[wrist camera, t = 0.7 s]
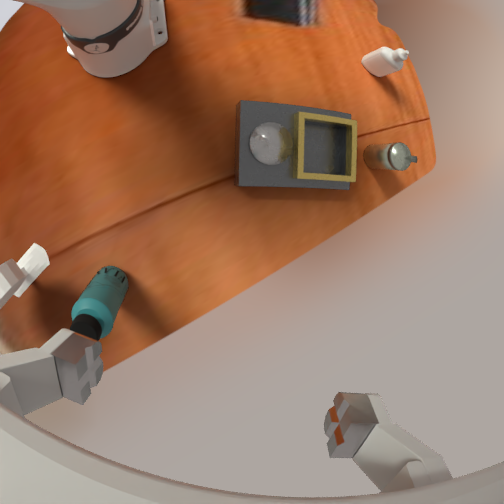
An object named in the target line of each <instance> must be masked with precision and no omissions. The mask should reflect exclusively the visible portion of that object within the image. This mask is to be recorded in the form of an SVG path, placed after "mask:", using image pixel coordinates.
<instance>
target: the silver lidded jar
mask: <svg viewBox="0 0 504 504" xmlns="http://www.w3.org/2000/svg"><path fill="white" fill-rule="evenodd" d="M363 157H364V161H365V163H366V165H367V166H368V167H369V168H372V169H388V170H400V171H403V170H406V169H407V168H408V167H409V165H410V163H411V162H415V163H417V156H411V153H410V150H409V148H408V147H407V146H406V145H405V144H403V143H389V144H374V145H369V146H367V147H366V148H365V150H364V154H363Z"/></svg>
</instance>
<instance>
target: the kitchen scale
mask: <svg viewBox="0 0 504 504" xmlns="http://www.w3.org/2000/svg"><path fill="white" fill-rule="evenodd" d="M356 160H357V121H356V120H351V114H347V113H342V112H336V111H330V110H324V109H318V108H311V107H304V106H296V105H288V104H279V103H269V102H257V101H243V100H241V101H240V102H239V103H238V104H237V105H236V133H235V181H234V185H236V186H268V187H302V188H325V189H343V190H349V187H350V182H356Z"/></svg>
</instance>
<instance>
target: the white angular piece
mask: <svg viewBox="0 0 504 504" xmlns="http://www.w3.org/2000/svg"><path fill="white" fill-rule="evenodd" d="M49 264H50V263H49V259H48V256H47V253H46V251H45V250H44V249H43V248H42V247H41V246H39V245H37V244H35V243H34V244H33V245H32V246H31V247H30V248H29V249H28V251H27V252H26V253H25V254H24V255H23V256H22V258H21V259H20V260H19V261H18V262H17V264H16V262H15V261H14V260H13V259H10V260H8V261H6V262H4V263H3V264H1V265H0V309H1V308H2V307H3V305H4V304H5V303H6V302H7V301H8V300H9V299H10V298H11V297H12V296H13V294H14V295H15V296H17V297H20V296H21V295H22V293H23V292H24V291H25V290H26V289H27V288H28V287H29V286H30V284H31V283H32V282H33V281H34V280H35V279H36V278H37V277H38V276H39V275H40V274H41V272H42V271H43V270H44V269H45V268H46V267H47V266H48V265H49Z"/></svg>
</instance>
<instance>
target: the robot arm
mask: <svg viewBox="0 0 504 504" xmlns="http://www.w3.org/2000/svg"><path fill="white" fill-rule="evenodd" d="M13 1H19V2H23V3H27V4H30V5H34V6H37V7H39V8H42V9H44V10H45V11H47V12H49V13H50V14H51V15H52V16H53V17H54V18H55V19H56V20H57V21H58V22H59V24H60V25H61V29H62V31H63V34H64V38H65V40H66V42H67V44H68V48H67V51H68V53H69V55H71V56H72V57H74V58H76V59H78V60H79V62H80V63H81V65H82V67H83V68H84V69H85V70H86V71H87V72H88V73H90V74H92V75H94V76H98V77H115V76H119V75H122V74H125V73H127V72H129V71H131V70H133V69H134V68H136V67H137V66H139V65H140V64H141V63H142V62H143V61H144V60H145V59H146V58H147V57H148V55H149V54H150V53H151V52H152V51H153V50H155V49H157V48H158V47H160V46H162V45H163V44H165V43H166V42H167V40H168V34H167V26H166V17H165V8H164V0H13ZM159 32H162V34H158V33H159ZM101 352H102V347H101V343H100V342H99V341H97V340H94V339H92V338H89V337H86V336H84V335H81V334H79V333H76V332H73V331H71V330H69V329H66V328H63V329H61V330H60V331H59V332H57V333H56V334H55V335H54V336H53V337H52V338H51V339H49V340H48V341H47V342H46V343H45V344H44V345H43V346H42V347H40V348H39V349H38V348H31V349H27V350H22V351H17V352H13V353H8V354H3V355H0V504H504V462H501V463H499V464H496V465H493V466H491V467H488V468H485V469H483V470H480V471H477V472H474V473H471V474H467V475H464V476H461V477H458V478H454V479H453V478H452V476H451V474H450V472H449V470H448V468H447V466H446V463H445V462H444V460H443V457H442V456H441V455H440V454H438V453H437V452H435V451H434V450H433V449H431V448H430V447H428V446H427V445H425V444H424V443H423V442H421V441H420V440H418V439H417V438H416V437H414V436H413V435H411V434H410V433H409V432H407V431H406V430H404V429H403V428H402V427H400V426H399V425H398V424H393V423H392V420H391V418H390V416H389V414H388V412H387V410H386V407H385V405H384V403H383V401H382V398H381V396H380V395H379V394H368V393H366V394H359V393H343V392H339V393H338V394H337V395H336V396H335V398H334V405H335V406H333V407H332V408H331V409H329V410H328V412H327V415H326V418H325V422H324V430H325V434H326V435H327V436H328V437H329V438H330V439H329V441H328V443H327V446H328V451H329V456H330V458H353V461H354V462H355V463H356V464H357V465H358V466H359V467H360V468H361V470H362V471H363V472H364V473H365V474H366V475H367V476H368V477H369V478H370V480H371V481H372V482H373V483H374V484H375V485H376V486H377V487H378V488H379V489H380V490H381V492H380V493H379V494H370V495H360V496H346V497H322V498H320V497H316V498H309V497H279V496H265V495H254V494H245V493H238V492H230V491H224V490H218V489H212V488H207V487H202V486H197V485H192V484H188V483H183V482H179V481H175V480H171V479H168V478H163V477H160V476H157V475H153V474H150V473H147V472H144V471H140V470H137V469H134V468H131V467H128V466H126V465H122V464H120V463H117V462H115V461H112V460H109V459H107V458H104V457H102V456H99V455H97V454H94V453H92V452H90V451H87V450H85V449H83V448H81V447H78V446H76V445H74V444H72V443H70V442H68V441H66V440H64V439H62V438H60V437H58V436H56V435H54V434H52V433H50V432H48V431H46V430H44V429H43V428H41V427H39V426H37V425H36V424H34V423H32V422H31V421H29V420H27V419H26V418H25V417H24V415H26V414H28V413H30V412H33V411H35V410H37V409H39V408H41V407H43V406H46V405H48V404H50V403H52V402H54V401H57V400H59V399H61V398H62V397H65V398H67V399H69V400H72V401H74V402H77V403H79V404H81V405H83V404H84V403H85V401H86V400H87V399H88V397H89V396H90V394H91V389H90V388H92V387H94V386H97V384H98V383H99V381H100V379H101V376H102V374H103V361H102V360H101V358H100V357H99V355H100V354H101Z"/></svg>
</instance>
